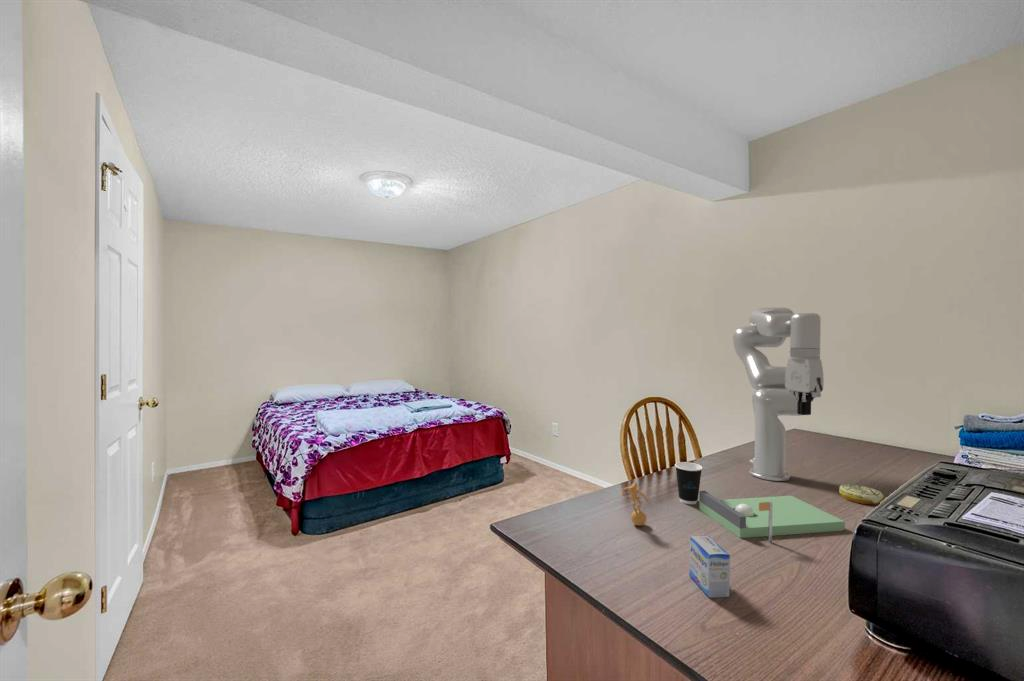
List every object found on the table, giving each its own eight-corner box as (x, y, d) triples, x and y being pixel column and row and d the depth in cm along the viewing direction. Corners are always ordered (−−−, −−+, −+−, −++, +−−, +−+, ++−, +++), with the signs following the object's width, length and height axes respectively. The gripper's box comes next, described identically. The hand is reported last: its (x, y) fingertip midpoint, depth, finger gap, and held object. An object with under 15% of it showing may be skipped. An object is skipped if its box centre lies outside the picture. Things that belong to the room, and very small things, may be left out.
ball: (745, 512, 122) (732, 518, 120) (743, 498, 121) (730, 504, 120) (758, 520, 117) (745, 527, 116) (756, 505, 116) (742, 512, 115)
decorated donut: (885, 509, 127) (885, 497, 127) (839, 501, 133) (839, 489, 133) (881, 498, 135) (881, 486, 135) (838, 491, 142) (838, 479, 142)
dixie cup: (689, 495, 138) (689, 460, 138) (708, 504, 130) (708, 468, 130) (669, 498, 135) (669, 463, 135) (687, 508, 128) (687, 471, 127)
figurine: (656, 528, 115) (656, 483, 114) (644, 535, 111) (644, 488, 110) (629, 518, 121) (629, 475, 121) (616, 524, 117) (617, 480, 117)
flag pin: (757, 542, 107) (758, 502, 107) (770, 541, 107) (770, 501, 107) (759, 543, 106) (760, 503, 106) (772, 542, 107) (773, 502, 106)
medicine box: (688, 576, 92) (688, 535, 92) (708, 575, 93) (709, 534, 92) (708, 598, 84) (708, 554, 84) (730, 597, 85) (730, 553, 84)
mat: (699, 509, 127) (699, 490, 127) (791, 503, 131) (791, 485, 131) (739, 538, 109) (740, 516, 109) (844, 530, 113) (845, 510, 113)
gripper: (775, 353, 138) (774, 410, 138) (814, 355, 123) (813, 419, 123) (796, 352, 139) (795, 409, 139) (837, 355, 124) (836, 419, 124)
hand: (804, 414), depth 131 cm, fingers closed
